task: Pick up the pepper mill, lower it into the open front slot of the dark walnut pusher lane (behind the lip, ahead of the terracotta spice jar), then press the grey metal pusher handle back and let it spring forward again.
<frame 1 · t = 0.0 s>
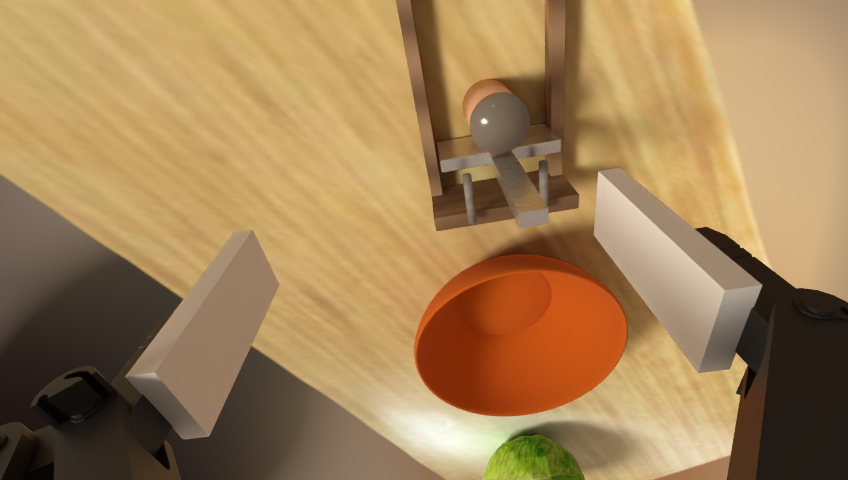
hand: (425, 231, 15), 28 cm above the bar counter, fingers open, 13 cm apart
lettuce: (517, 444, 74), on the bar counter
terracotta spice jar: (486, 105, 39), resting in lane
lane: (484, 77, 38), on the bar counter
pusher: (507, 169, 34), point 9 cm above the bar counter, slide at 0.0 cm
bowl: (502, 297, 54), on the bar counter
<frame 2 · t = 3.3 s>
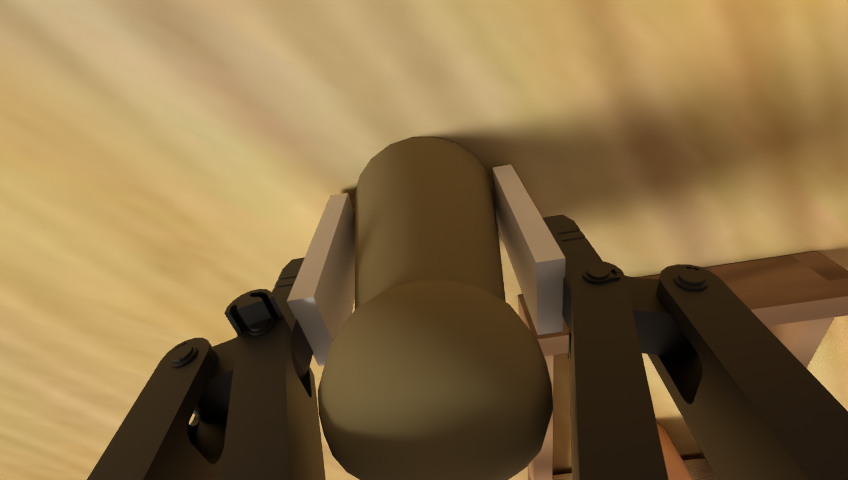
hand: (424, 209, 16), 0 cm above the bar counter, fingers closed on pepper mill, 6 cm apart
terracotta spice jar: (628, 440, 27), resting in lane
lane: (633, 418, 26), on the bar counter
pepper mill: (424, 202, 17), on the bar counter, touching gripper
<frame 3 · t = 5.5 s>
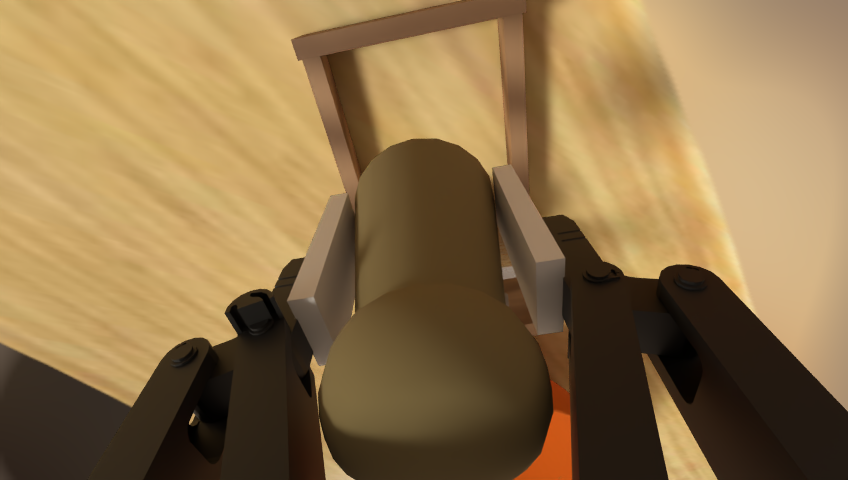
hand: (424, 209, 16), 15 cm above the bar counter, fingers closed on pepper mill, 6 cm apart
lane: (436, 181, 32), on the bar counter
pepper mill: (424, 204, 17), point 15 cm above the bar counter, touching gripper
pusher: (457, 309, 28), point 9 cm above the bar counter, slide at 0.0 cm
bowl: (474, 391, 48), on the bar counter
when the fingers open (3 cm above the bar counter, at t = 8.1 s): pepper mill drops 2 cm, resting in lane.
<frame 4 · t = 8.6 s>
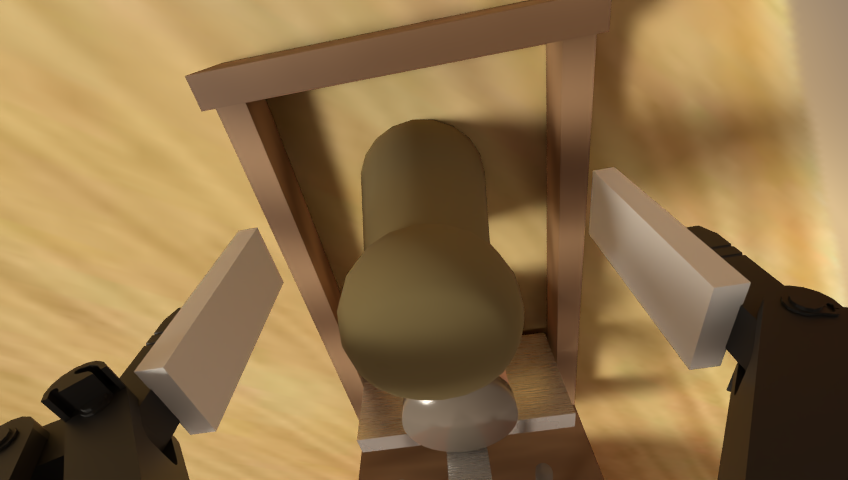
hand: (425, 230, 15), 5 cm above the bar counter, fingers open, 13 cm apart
terracotta spice jar: (447, 308, 23), resting in lane
lane: (441, 274, 22), on the bar counter
pepper mill: (422, 179, 19), resting in lane
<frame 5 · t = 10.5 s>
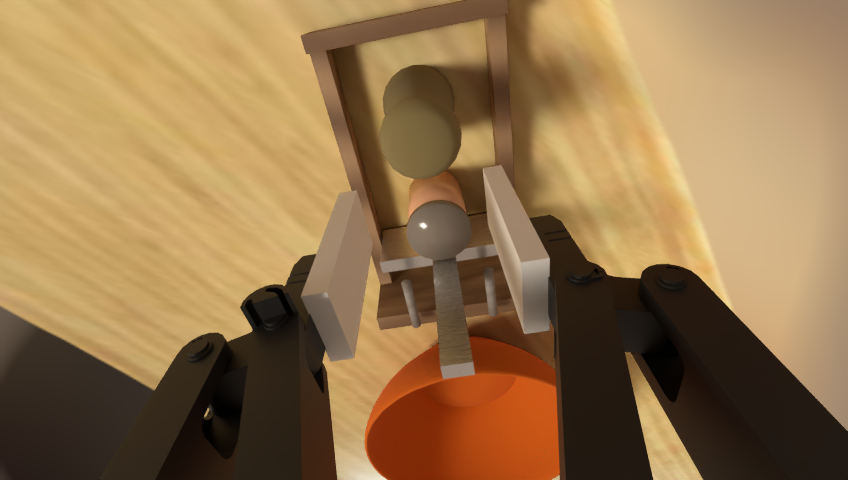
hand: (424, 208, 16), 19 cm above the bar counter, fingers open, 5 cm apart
terracotta spice jar: (434, 193, 37), resting in lane
lane: (430, 167, 35), on the bar counter
pepper mill: (418, 103, 32), resting in lane
pusher: (447, 281, 31), point 9 cm above the bar counter, slide at 0.0 cm
bowl: (466, 371, 51), on the bar counter
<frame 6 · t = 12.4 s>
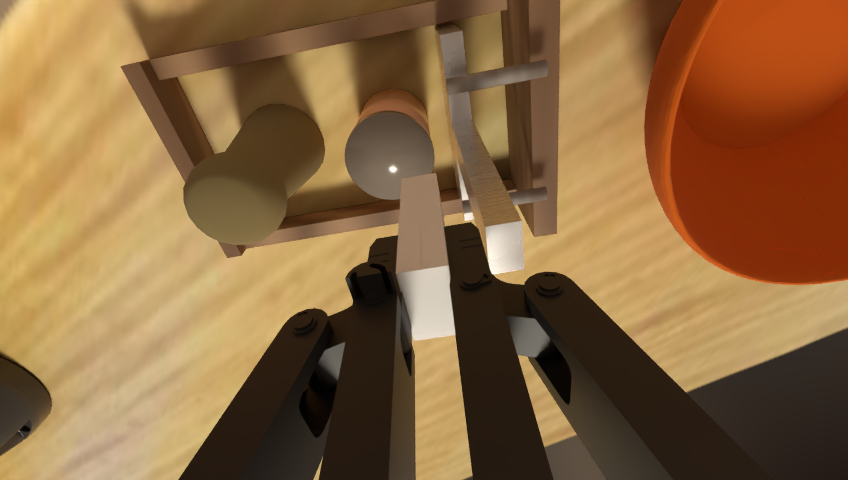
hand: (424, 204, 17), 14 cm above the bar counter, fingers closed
terracotta spice jar: (394, 124, 28), resting in lane
lane: (359, 131, 29), on the bar counter
pepper mill: (285, 144, 29), resting in lane
pusher: (471, 157, 20), point 9 cm above the bar counter, slide at 1.1 cm, touching gripper
bowl: (769, 53, 27), on the bar counter
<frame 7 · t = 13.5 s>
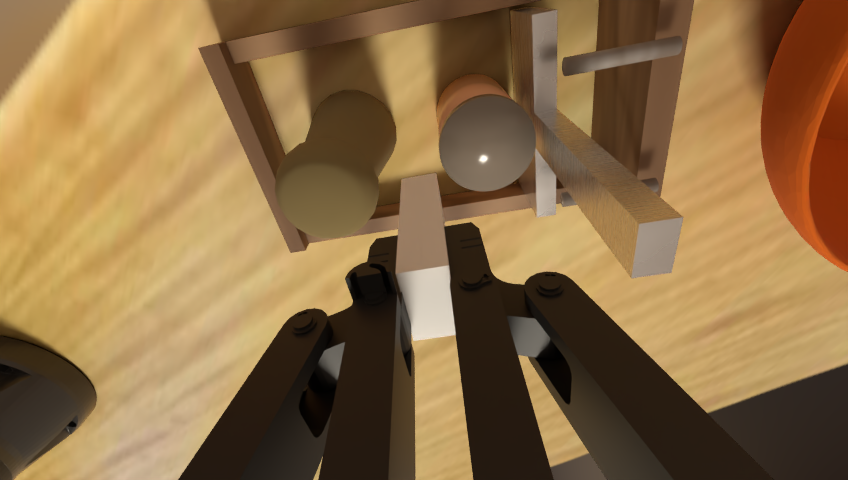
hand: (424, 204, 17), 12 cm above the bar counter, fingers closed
terracotta spice jar: (472, 112, 27), resting in lane
lane: (434, 119, 27), on the bar counter
pepper mill: (355, 133, 28), resting in lane
pusher: (563, 148, 19), point 9 cm above the bar counter, slide at 0.1 cm
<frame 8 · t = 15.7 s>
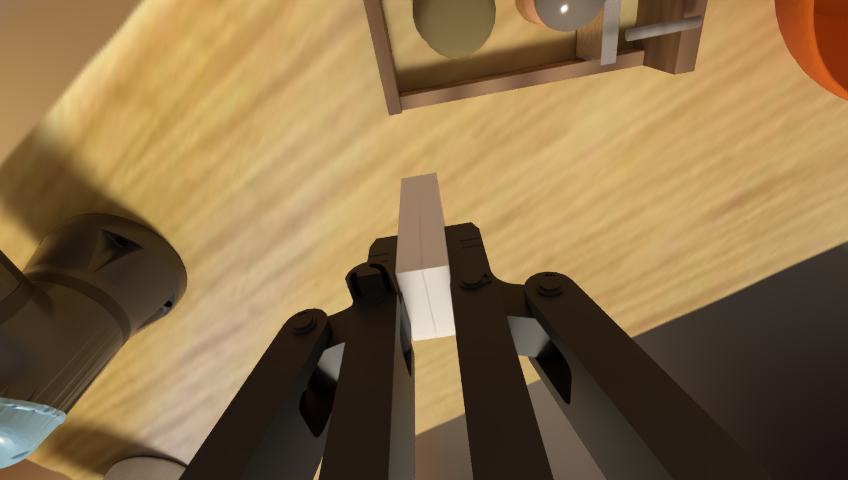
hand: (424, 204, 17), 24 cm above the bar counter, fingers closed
pepper mill: (446, 11, 34), resting in lane
planter: (158, 473, 75), on the bar counter
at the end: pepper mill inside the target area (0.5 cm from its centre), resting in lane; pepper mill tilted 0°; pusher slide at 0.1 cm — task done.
